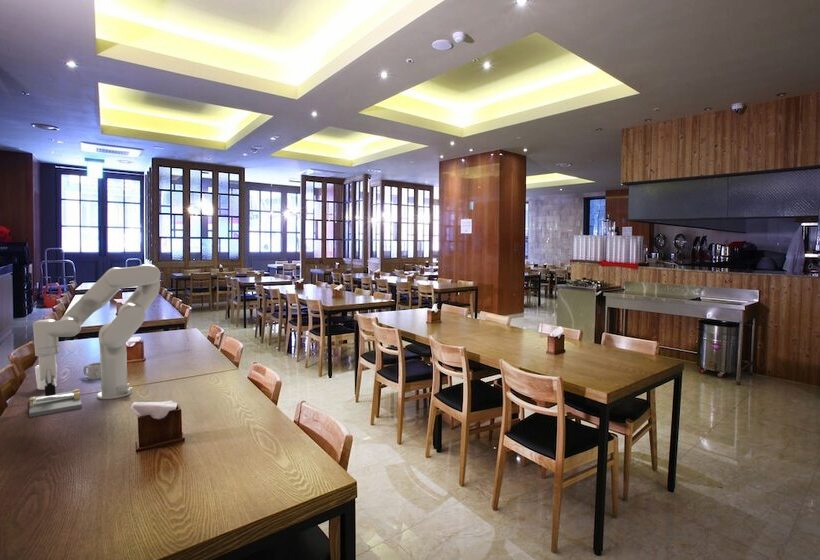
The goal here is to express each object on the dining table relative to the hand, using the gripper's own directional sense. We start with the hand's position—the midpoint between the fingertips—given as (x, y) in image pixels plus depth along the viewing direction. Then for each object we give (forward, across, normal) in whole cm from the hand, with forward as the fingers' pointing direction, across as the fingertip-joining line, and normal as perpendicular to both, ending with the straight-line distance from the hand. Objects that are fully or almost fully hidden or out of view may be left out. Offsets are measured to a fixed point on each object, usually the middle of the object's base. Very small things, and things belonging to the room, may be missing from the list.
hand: (50, 395), depth 181 cm
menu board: (+4, 0, +2) cm, 5 cm away
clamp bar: (+2, 0, +2) cm, 3 cm away
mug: (+5, -36, +17) cm, 40 cm away
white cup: (+4, -30, -1) cm, 30 cm away
